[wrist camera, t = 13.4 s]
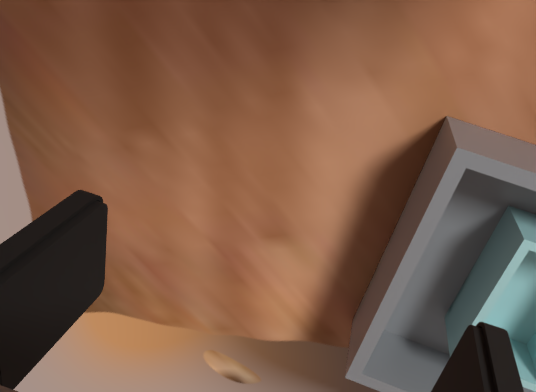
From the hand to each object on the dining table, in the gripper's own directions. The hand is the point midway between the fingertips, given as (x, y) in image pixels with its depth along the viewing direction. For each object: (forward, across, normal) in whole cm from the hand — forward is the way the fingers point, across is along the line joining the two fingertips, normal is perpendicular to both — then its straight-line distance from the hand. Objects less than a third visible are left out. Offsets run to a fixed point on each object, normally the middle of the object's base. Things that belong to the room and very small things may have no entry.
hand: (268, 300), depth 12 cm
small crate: (+25, -16, +11) cm, 32 cm away
